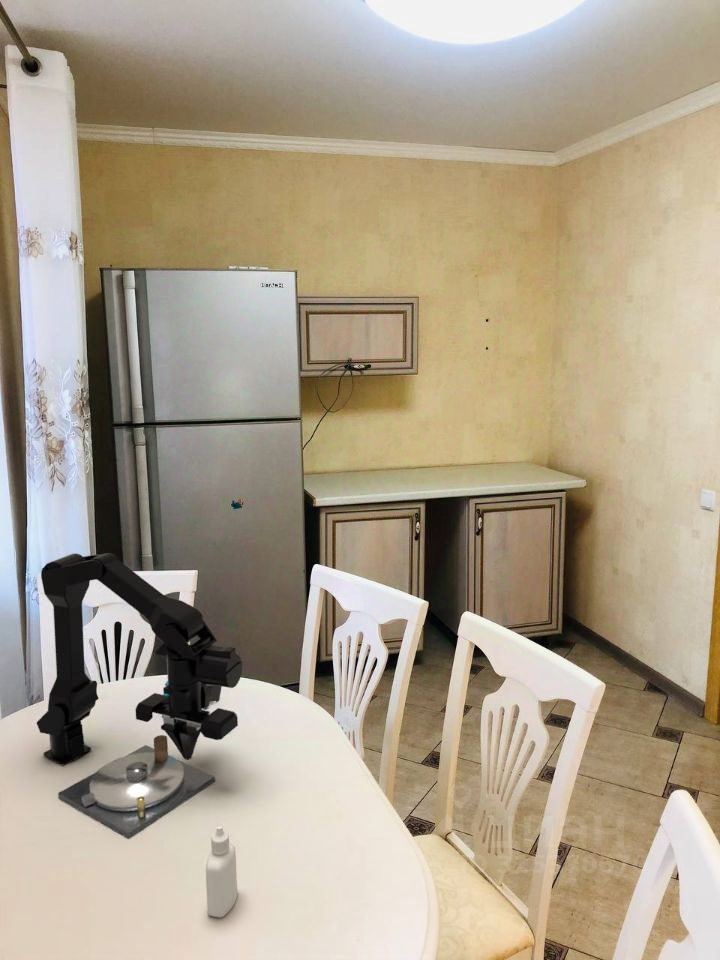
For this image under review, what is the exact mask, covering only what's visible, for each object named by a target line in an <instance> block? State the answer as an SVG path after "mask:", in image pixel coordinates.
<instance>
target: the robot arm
mask: <svg viewBox="0 0 720 960" xmlns="http://www.w3.org/2000/svg"><path fill="white" fill-rule="evenodd" d="M40 578H41V579H40V580H41V582H42V589H43V593H44V595H45V596H46V598H47V599H48V601H49V602H50V604H52V606H53V622H54V623H53V624H54V625H53V626H54V646H55V665H56V666H55V667H56V678H55V681H54V683H53V685H52V687H51V690H50V692H49V694H48V695H49V696H48V704H47V711H45V713H44V714H43V715H42V716H41V717H40V718H39V719H38V720H37V722H36V726H37V729H38V730H39V733H40V734H45V735H49V746H50V747H49V748H50V749H48V750H46V751H44V752H43V754H42V755H43V757H46V758H48V759H49V760H50V761H53V762H55V763H57V764H58V765H61V766H64V765H67V764H68V763H70V762H73V761H74V760H76V759H78V758H80V757H82V756H84V755H86V754H88V753H90V752H92V747H90V746H88V745H86V744H85V740H84V739H85V737H84V732H83V731H84V730H83V724H82V721H83V720H84V719H85V718H87V717H89V716H90V715H91V711H92V709H94V707H95V706H96V703H97V702H96V701H98V700H99V695H98V692H97V691H98V690H97V689H98V681H97V680H91V679H90V678H89V676H88V675H87V674H86V672H85V671H86V670H85V668H86V667H85V648H84V623H83V621H84V619H83V601H84V598H85V596H86V593H87V592H88V589H89V587H90V581H95V580H97V581H98V582H100V583H101V584H102V585H103V586H105V587H106V588H107V589H109V590H110V591H111V592H112V593H114V594H115V595H116V596H118V597H119V598H120V599H122V600H123V601H124V602H125V603H127V604H128V605H130V606H131V607H132V608H133V609H134V610H136V611H137V612H138V613H139V614H141V615H142V616H143V617H144V618H145V619H146V620H147V621H148V623H149V626H150V628H151V630H152V633H153V634H155V635H156V637H157V638H158V639H159V640H160V642H162V644H161V646H160V647H159V648H158V649H156V650H155V652H154V654H155V655H157V656H164V657H166V670H167V671H166V672H167V674H166V676H167V681H168V685H167V686H164V687H163V690H162V691H163V694H164V693H165V694H168V695H169V696H165V695H163V694H162V693H161V694H160V693H157V692H154V693H152V694H150V696H149V695H148V697H146V698H144V699H143V700H141V701H140V702H138V703H137V705H136V707H135V720H137V721H140V722H141V721H142V722H146V723H148V722H149V721H151V720H152V719H153V717H154V716H153V715H154V714H157V715H158V714H159V715H161V718H162V719H163V721H162V723H163V724H161V725H160V729H161V730H162V731H164V732H165V733H166V734H167V735H166V736H167V737H169V738H170V740H171V741H172V742H173V744H174V745H175V747H176V748H177V750H178V752H179V753H180V754H181V756H182V758H183V760H185V761H189V760H190V759H192V756H193V754H194V751H195V748H196V745H197V742H198V738H199V737H200V734H201V735H202V736H203V738H207V739H210V740H215V741H220V740H222V739H224V738H225V737H226V736H227V735H228V734H230V733H231V732H232V731H234V729H235V728H237V727H238V726H239V723H238V722H239V721H238V720H239V719H238V714H237V713H236V712H235V711H232V710H228V709H224V708H219V707H217V708H216V709H215V710H213V711H212V712H210V711H208V710H205V709H207V708H208V707H210V703H211V702H216V703H219V702H220V700H221V694H222V693H221V692H222V688H230V689H233V688H235V687H236V686H237V685H238V684H239V681H240V679H241V677H242V673H243V661H242V660H241V657H240V655H239V654H237V653H236V648H235V647H234V646H226V647H225V646H217V645H215V644H216V643H217V642H218V641H217V638H216V637H215V635H214V634H213V633H212V631H211V629H210V628H209V626H208V625H207V624H206V622H205V621H204V619H203V618H204V616H203V614H202V612H200V611H199V609H197V608H195V607H194V606H192V605H190V604H189V603H187V602H185V601H182V600H180V599H175V598H172V597H168V596H166V595H165V594H163V593H162V592H161V591H159V590H158V589H157V588H156V587H154V586H153V585H152V584H150V583H149V582H148V581H146V580H145V579H144V578H142V577H141V576H140V575H138V573H136V572H135V571H133V570H132V569H130V568H129V567H128V566H127V565H125V564H124V563H123V562H121V561H120V559H119V557H118V556H117V555H116V554H114V553H110V552H106V553H103V554H91V555H85V556H83V555H81V554H79V553H77V552H76V553H70V554H68V555H66V556H63V557H61V558H58V559H55V560H52V561H50V562H48V563H46V564H45V565H44V566H43V567H42V568H41V572H40ZM197 637H198V638H199V639H198V640H196V641H195V642H194V643H192V644H189V643H190V642H191V641H193V640H194V639H196V638H197ZM153 713H154V714H153Z"/></svg>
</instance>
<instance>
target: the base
mask: <svg viewBox="0 0 720 960" xmlns="http://www.w3.org/2000/svg"><path fill="white" fill-rule="evenodd" d="M147 752H154V747H151V746H150V745H146V744H144V745H143V746H141V747H139V748H137V749H136V750H134V751H132V752H131V753H128V754H127V755H126V756H128V755H132V754H137V753H147ZM176 759H177V758H176ZM177 760H179V761H180V762H181V764H182V766H183V769H184V780H183V783H182V785H181V787H180V788H179V789H178V791H177V792H176V793H175V794H173V795H172V796H171V797H169V798H168V799H166V800H165V801H163V802H161V803H159V804H156V805H154V806H151V807H147V808H145V800H144V797H142V796H141V797H138V798H137V810H133V811H114V810H109V809H105V808H102V807H100V806H98V805H97V804H96V803H93V804H91V805H88V806H86V807H85V806H84V805H83V803H82V796H84V795H87V794H89V793H90V781H91V779H92V777H93V776H94V774H95V773H96V772H94V773H92V774H91V775H88V776H86V777H85V778H83V779H81V780H79V781H77V782H76V783H74V784H72V785H70V786H69V787H67V788H65V789H63V790H61V791H60V792H57V796H58V799H59V800H61V801H63V802H64V803H65V804H68V805H70V806H71V807H73V808H75V809H76V810H77V811H80V812H81V813H83V814H85V815H87V816H88V817H90V818H91V819H94V820H95V821H97V822H99V823H101V824H103V825H104V826H105V827H108V828H109V829H111V830H113V831H114V832H116V833H118V834H120V835H121V836H123V837H125V838H127V839H130V838H131V837H134V836H135V835H136V834H138V833H139V832H141V831H142V830H144V829H145V828H147V827H149V826H150V825H151V824H153V823H154V822H156V821H157V820H159V819H161V818H162V817H164V816H165V815H167V814H169V813H170V812H171V811H172V810H174V809H175V808H178V807H179V806H180V805H182V804H183V803H185V802H187V801H188V800H189V799H191V798H192V797H194V796H195V795H196V794H199V792H201V791H202V790H204V789H206V788H207V787H209V786H210V785H212V784H213V783H215V781H216V779H215V777H216V776H214V775H213V774H211V773H208V772H206V771H203V770H202V769H199V768H197V767H195V766H193V765H191V764H188V763H187V762H185V761H181V760H180V759H177Z"/></svg>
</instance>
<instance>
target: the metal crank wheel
mask: <svg viewBox="0 0 720 960" xmlns="http://www.w3.org/2000/svg"><path fill="white" fill-rule="evenodd" d="M153 749H154V752H147V753H137V754H132V755H128V754H127V755H128V756H127V755H125V756H124V755H123V756H122V757H119V758H116V759H113V760H112V761H110V762H108V763H106V764H105V765H103V766H102V767H100V768H99V769H98V770H97V771H95V772H94V773H95V774H94V773H93V774H94V776H93V777H92V779H91V781H90V793H89V794H87V795H84V796H82V803H83V805H84V806H85V807H86V806H88V805H91V804H93V803H96V804H97V805H98V806H100V807H102V808H105V809H109V810H114V811H133V810H137V798H138V797H141V796H142V797H144V800H145V808H147V807H151V806H154V805H156V804H159V803H161V802H163V801H165V800H166V799H168V798H169V797H171V796H172V795H173V794H175V793H176V792H177V791H178V789H179V788H180V787H181V785H182V783H183V780H184V769H183V766H182V764H181V762H180V761H181V760H180V759H178V760H177V758H176V757H174V756H172V755H170V754H169V751H168V750H169V748H168V735H163V734H162V735H157V736H155V737H154V738H153ZM179 760H180V761H179Z"/></svg>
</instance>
